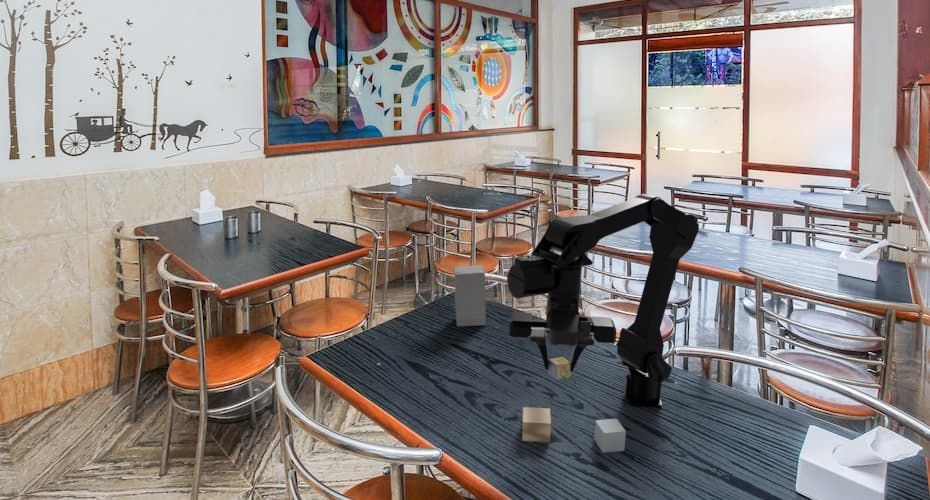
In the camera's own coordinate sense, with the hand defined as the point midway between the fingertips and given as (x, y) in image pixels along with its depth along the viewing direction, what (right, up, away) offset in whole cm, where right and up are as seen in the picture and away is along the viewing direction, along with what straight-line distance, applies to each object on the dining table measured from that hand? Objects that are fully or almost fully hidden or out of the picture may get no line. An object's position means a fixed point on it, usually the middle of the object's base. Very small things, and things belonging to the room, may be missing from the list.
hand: (558, 369), depth 102 cm
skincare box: (-16, +2, +51) cm, 54 cm away
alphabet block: (0, -1, 0) cm, 1 cm away
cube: (+8, -13, -3) cm, 16 cm away
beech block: (-4, -12, 0) cm, 13 cm away
